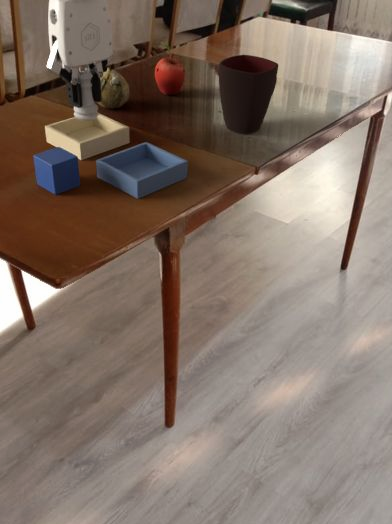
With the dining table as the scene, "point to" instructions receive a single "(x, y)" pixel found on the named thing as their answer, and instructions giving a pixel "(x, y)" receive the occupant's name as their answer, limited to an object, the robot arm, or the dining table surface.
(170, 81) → the apple
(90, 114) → the rook chess piece
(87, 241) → the dining table surface
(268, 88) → the cup
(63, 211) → the dining table surface
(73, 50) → the robot arm
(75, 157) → the blue block
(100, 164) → the blue tray
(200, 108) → the dining table surface
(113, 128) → the ivory tray
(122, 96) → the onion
